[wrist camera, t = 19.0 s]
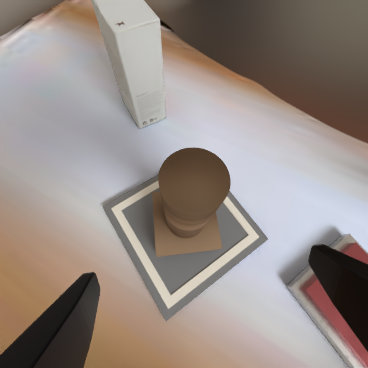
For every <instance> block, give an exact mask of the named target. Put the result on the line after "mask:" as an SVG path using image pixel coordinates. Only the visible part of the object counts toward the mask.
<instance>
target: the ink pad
mask: <svg viewBox="0 0 368 368" xmlns="http://www.w3.org/2000/svg"><path fill="white" fill-rule="evenodd" d="M329 247H331V248H333V249H335V250H337V251H339V252H342V253H344V254H346V255H348V256H351V257H353V258H355V259H357V260H359V261H362V262H364V263H366V264H368V253H367V252H366V251H365V250H364V249H363V248H362V246H361V245H360V244H359V243H358V242H357V241H356V240H355V239H354V238H353V237H352V236H351V235H350V234H344V235H341V236H340V237H339V238H338V239H337V240H336V241H335V242H334V243H333V244H331V245H330V246H329ZM286 287H287V288H288V289H289V290H290V292H291V293H292V294H293V296H294V297H295V298H296V299H297V301H298V302H299V303H300V305H301V306H302V307H303V308H304V310H305V311H306V312H307V314H308V315H309V316H310V317H311V319H312V320H313V321H314V323H315V324H316V325H317V326H318V328H319V329H320V330H321V332H322V333H323V334H324V336H325V337H326V338H327V339H328V341H329V342H330V343H331V345H332V346H333V347H334V348H335V350H336V351H337V352H338V354H339V355H340V356H341V357H342V359H343V360H344V361H345V363H346V364H347V365H348V366H349V368H368V352H367V351H366V349H365V348H364V347H363V345H362V344H361V342H360V341H359V340H358V338H357V337H356V335H355V334H354V333H353V331H352V330H351V328H350V327H349V326H348V324H347V323H346V321H345V320H344V319H343V317H342V316H341V315H340V313H339V312H338V310H337V309H336V308H335V306H334V305H333V303H332V302H331V300H330V299H329V297H328V295H327V294H326V292H325V290H324V289H323V287H322V285H321V284H320V282H319V280H318V279H317V277H316V275H315V274H314V272H313V270H312V269H311V267H310V265H308V266H307V267H306V268H305V269H304V270H303V271H302V272H301V273H300V274H299V275H298V276H296V277H295V278H294V279H293V280H292V281H291V282H290V283H289V284H288V285H287V286H286Z"/></svg>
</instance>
